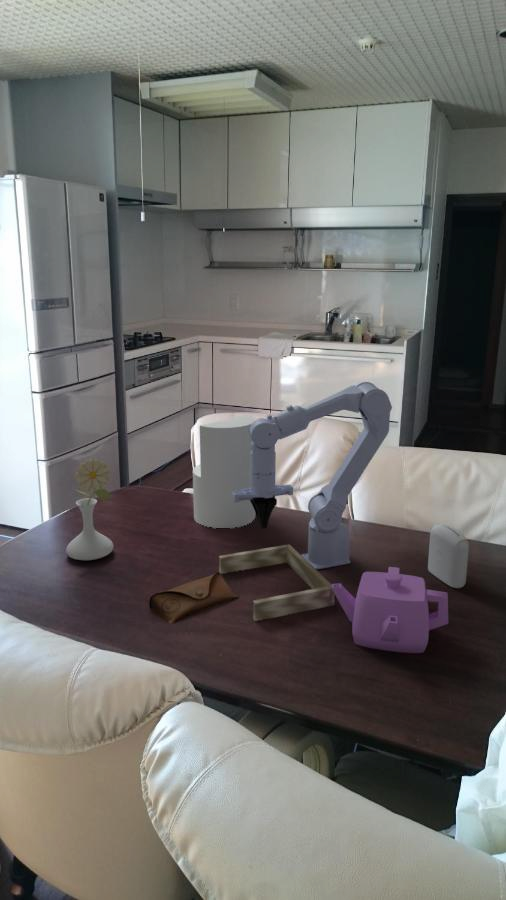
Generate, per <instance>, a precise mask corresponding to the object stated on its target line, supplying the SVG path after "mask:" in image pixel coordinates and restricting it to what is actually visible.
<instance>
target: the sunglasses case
mask: <svg viewBox="0 0 506 900" xmlns="http://www.w3.org/2000/svg"><path fill="white" fill-rule="evenodd" d="M237 597H238V598H239V595H237V594H235V592H234V591H233V590H232V588H231V587H230V586H229V585H228V583H227V582H226V581H225V579H224V578H223V576H222V574H221V573H220V572H219V571H217V572H215V573H213V574H211V575H209V576H205V577H202V578H199V579H195V580H192V581H189V582H186V583H184V584H183V583H182V584H181V585H178V586H175V587H173V588H171V589H167V590H162V591H159V592H155V593H154V594H152V595H151V596H150V598H149V601H148V604H149V605H148V606H149V609H150V610H151V611H153V612H154V613H155V614H157V615H158V616H159V617H161V618H162V619H163V620H165V621H167V622H168V623H169V624H173V623H177V622H178V621H180V620H182V619H185V618H187V617H189V616H191V614H192V615H194V614H197V613H199V612H201V610H202V611H204V610H206V608H207V609H209V608H211V606H212V607H214V605H215V606H217V605H220V604H223V603H226V602H228V600H229V601H232V600H235V599H234V598H236V599H237ZM231 599H232V600H231ZM225 601H226V602H225ZM222 602H223V603H222ZM219 603H220V604H219ZM216 604H217V605H216ZM208 607H209V608H208ZM203 609H204V610H203ZM198 611H199V612H198Z"/></svg>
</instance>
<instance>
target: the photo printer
mask: <svg viewBox="0 0 506 900" xmlns="http://www.w3.org/2000/svg"><path fill="white" fill-rule="evenodd" d="M429 534H430V535H429V536H430V537H429V546H428V558H427V559H428V561H427V570H428V572H429V573H431V575H433V576H434V577H436V578H437V579H438V580H440V581H441V582H442V583H444V584H446V585H447V586H449V587H451V588H453V589H461V588H463V587H464V586H465V585H466V583H467V582H466V581H467V571H468V563H469V562H468V560H469V551H470V550H469V548H470V543H469V541H468V539H467V538H466V537H465V535H464V534H462V532H460V531H459V530H457V528H455V527H452V526H451V525H449V524H444V523H439V524H435V525H433V526H432V528H431V530H430V533H429Z"/></svg>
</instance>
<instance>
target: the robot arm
mask: <svg viewBox="0 0 506 900" xmlns="http://www.w3.org/2000/svg"><path fill="white" fill-rule="evenodd" d="M392 409H393V406H392V404H391V400H390V397H389V395H388V393H386V391H384V390H383V389H380V388H379V387H378V386H376V385H375V384H374V383H372V382H370V381H363V382H360V383H358V384H357V385H350V386H347V387H346V388H344V389H342V390H340V391H338V392H336V393H333V394H332V395H329V396H328V397H325V398H323V399H321V400H319V401H316V402H315V403H313V404H310V405H308V406H306V407H302V406H299V405H291V404H289V405H287V406H286V407H285V409H284V410H281V411H280V412H277V413H275V414H271V413H269V414H267V415H266V418H264V417H261V418H257V419H255V421H254V422H253V423H252V424H251V426H250V429H249V434H250V436H251V438H252V441H251V453H250V471H251V487H250V488H247V489H243V490H240V491H236V492H232V500H233V502H235V503H237V502H239V501H243V500H250V502H251V504H252V506H253V508H254V510H255V517H256V520H257V524H258V527H259V528H260V529H267V527H268V524H269V521H270V517H271V514H272V512H273V511H274V508H276V505H277V503H278V500H277V499H276V497H277V496H287V495H288V496H293V495H294V486H292V484H281V485H280V484H279V485H278V484H276V459H277V458H276V454H277V453H276V451H275V450H276V444H277V443H278V441H279V440H283V439H285V438H288V437H290V436H292V435H295V434H297V433H299V432H302V431H304V430H306V429H307V428H308V427H309V425H310V423H311V422H313V421H316V420H319V419H321V418H325V417H327V416H330V415H332V414H335V413H339V412H340V411H349V412H352V413H356V414H359V413H360V417H361V420H362V423H363V426H364V427H363V429H362V431H361V432H360V434H359V435H358V437H357V439H356V440H355V442H354V443H353V444H352V446H351V448H350V449H349V451H348V453H347V454H346V456H345V458H344V459H343V460H342V462H341V464H340V466H339V467H338V468H337V470H336V471H335V472H334V475H333V476H332V478H331V480H330V481H329V482H328V483H327V484H326V485H324V486H322V487H321V489H320V490H319V492H317V493H316V494H314V495H313V496H312V497H311V498H310V499H309V501H308V503H307V509H308V511H309V514H310V515H311V518H310V521H309V522H308V537H307V538H308V540H307V553H302V554H300V555H301V556H302V557H303V558H304V559H305V560H306V561H307V562H308V563H309V564H310V565H311V566H312V567H314V568H315V569H316V570H317V571H318V570H321V569H328V568H333V567H338V566H343V565H344V566H345V565H349V564H351V560H350V543H351V536H350V530H349V528H348V526H347V525H346V524H345V523H343V522H342V521H343V520H342V517H343V513H344V512H345V510H346V509H347V501H348V500H347V499H348V496H349V495H350V493H351V492H352V490H353V489H354V487H355V486H356V484H357V483H358V481H359V479H360V478H361V476H362V475H363V473H364V472H365V471H366V469H367V467H368V466H369V464H370V462H371V461H372V459H373V458H374V456H375V455H376V453H377V451H378V450H379V448H380V447H381V445H382V444H383V442H384V441H385V439H386V438H387V436H388V434H389V432H390V422H391V421H390V419H391V418H390V417H391V411H392Z"/></svg>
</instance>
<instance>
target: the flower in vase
mask: <svg viewBox="0 0 506 900" xmlns="http://www.w3.org/2000/svg"><path fill="white" fill-rule="evenodd" d="M74 474H75V476H74V478H75V480H76V483H77V487H78V488H80V489H81V490H83V491H81V490H79V489H77V488H76V487H74V489H75V491H76V492H78V493H79V494H82V495H84V496H87V497H86V498H82V499H81V498H80V499H78V500H76V501H75V505H76V506H77V507H78V509H79V510H80V513H81V516H82V522H83V524H82V526H83V528H82V531H81V532H80V533H79V534H78V535H76V537H74V538H73V539H72V540H71V541H70V542H69V543H68V544H67V546H66V549H65V552H66V555H68V557H70V558H71V559H73V560H79V561H92V560H93V561H94V560H98V559H102V558H104V557H106V556H108V555H110V553H112V551H113V549H114V548H115V547H114V546H115V545H114V543H113V541H112V540H111V539H110V538H109V537H108V536H105V535H103V534H102V533H100V532H98V531H97V530H96V529H95V527H94V522H93V521H94V517H93V516H94V515H93V514H94V509H95V507H96V505H97V503H98V500H97V499H95V498H93V496H94V495H96V496H97V498H98V499H99V500H105V499H106V500H107V499H111V498H112V494H110V492H109V491H108V490H107V489H106V488H105V487H106V486H107V484H108V483H107V482H108V481H109V480H110V478H111V475H112V474H111V472H110V468H109V467H108V464H107V463H106V462H105V461H102V460H100V459H97V458H92V459H87V460H85V461H84V462H81V463H80V464H79V467H77V469H76V472H75V473H74ZM84 491H87V492H90V493H92V494H91V496H90V495H89V494H88V493H86V492H84ZM88 497H89V498H88Z"/></svg>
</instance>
